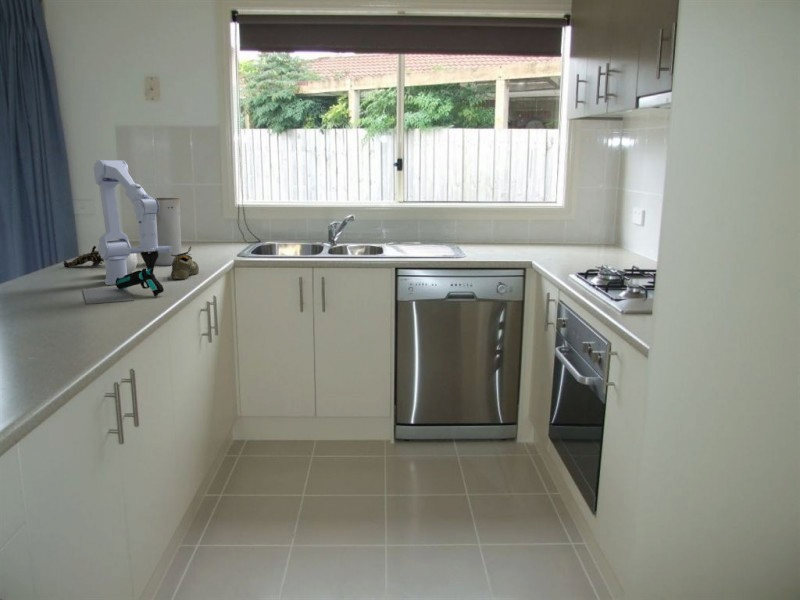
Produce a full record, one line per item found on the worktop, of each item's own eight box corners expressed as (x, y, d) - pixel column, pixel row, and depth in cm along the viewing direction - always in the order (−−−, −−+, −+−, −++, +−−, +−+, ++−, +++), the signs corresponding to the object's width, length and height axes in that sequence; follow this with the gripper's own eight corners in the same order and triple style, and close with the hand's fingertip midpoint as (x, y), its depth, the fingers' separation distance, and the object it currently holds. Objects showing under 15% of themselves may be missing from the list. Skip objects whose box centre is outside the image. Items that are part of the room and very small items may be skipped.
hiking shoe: (201, 272, 272) (200, 242, 270) (187, 281, 253) (185, 249, 250) (180, 271, 272) (179, 242, 270) (164, 280, 253) (162, 249, 250)
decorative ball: (139, 277, 257) (137, 246, 255) (105, 279, 252) (103, 247, 250) (137, 272, 268) (135, 242, 265) (104, 273, 263) (102, 243, 260)
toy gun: (127, 305, 235) (119, 277, 234) (166, 292, 225) (158, 263, 225) (120, 306, 232) (112, 278, 232) (159, 293, 222) (151, 264, 222)
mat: (82, 290, 231) (82, 289, 231) (126, 287, 238) (125, 286, 238) (86, 304, 211) (86, 303, 211) (134, 300, 217) (133, 299, 217)
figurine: (63, 255, 279) (106, 241, 283) (71, 274, 281) (114, 259, 285) (59, 257, 270) (104, 242, 274) (68, 276, 272) (113, 261, 276)
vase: (152, 262, 293) (146, 198, 287) (185, 260, 297) (179, 197, 291) (150, 267, 281) (144, 200, 275) (185, 265, 285) (179, 199, 279)
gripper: (126, 236, 220) (129, 277, 223) (172, 234, 226) (174, 274, 229) (124, 233, 226) (126, 273, 229) (169, 232, 232) (171, 271, 235)
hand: (150, 273), depth 229 cm, fingers closed
